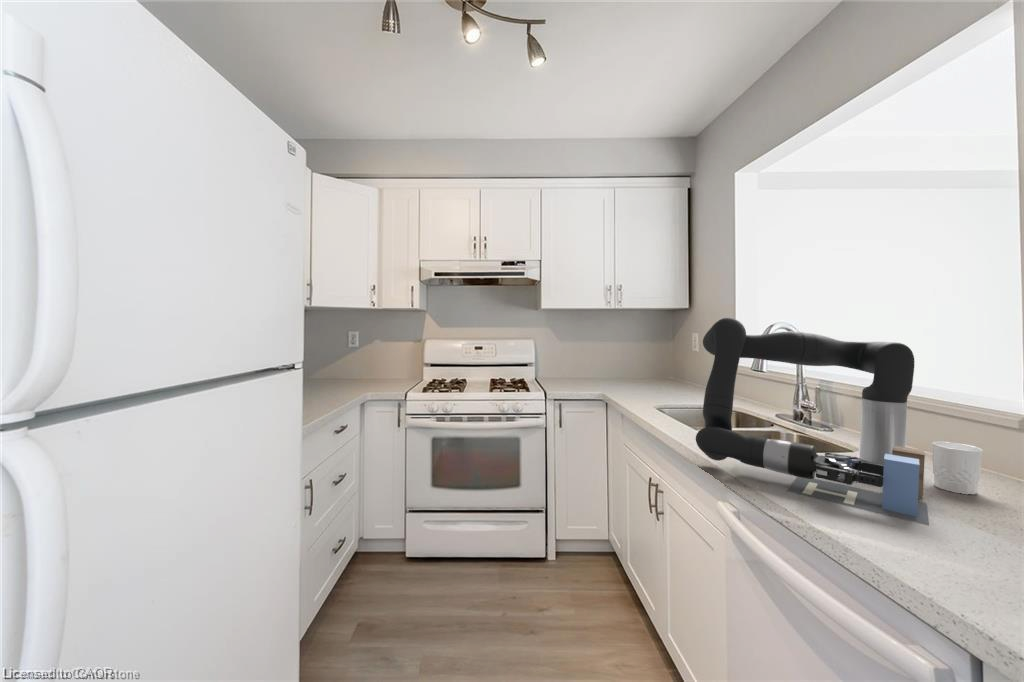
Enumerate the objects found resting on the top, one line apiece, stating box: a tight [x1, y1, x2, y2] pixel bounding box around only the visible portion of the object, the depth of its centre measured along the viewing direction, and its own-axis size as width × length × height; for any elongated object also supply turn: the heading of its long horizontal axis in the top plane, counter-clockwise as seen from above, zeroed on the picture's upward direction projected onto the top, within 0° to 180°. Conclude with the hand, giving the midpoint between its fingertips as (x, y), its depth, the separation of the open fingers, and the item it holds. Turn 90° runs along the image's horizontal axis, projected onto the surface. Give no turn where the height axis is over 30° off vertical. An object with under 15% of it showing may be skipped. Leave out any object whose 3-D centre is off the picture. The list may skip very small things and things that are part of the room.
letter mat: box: [786, 476, 930, 526], centre depth 87 cm, size 14×22×1 cm, turn 46°
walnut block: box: [892, 446, 926, 499], centre depth 90 cm, size 5×5×10 cm
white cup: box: [931, 440, 984, 496], centre depth 94 cm, size 8×8×10 cm
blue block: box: [882, 454, 920, 517], centre depth 81 cm, size 5×5×10 cm
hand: (884, 476), depth 83 cm, fingers open, 8 cm apart
